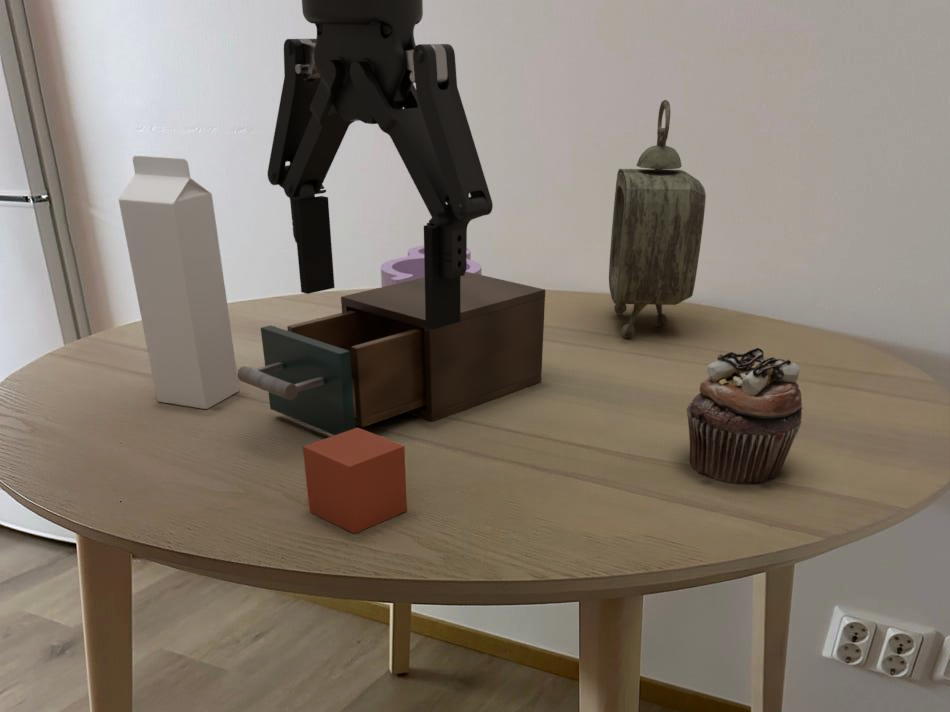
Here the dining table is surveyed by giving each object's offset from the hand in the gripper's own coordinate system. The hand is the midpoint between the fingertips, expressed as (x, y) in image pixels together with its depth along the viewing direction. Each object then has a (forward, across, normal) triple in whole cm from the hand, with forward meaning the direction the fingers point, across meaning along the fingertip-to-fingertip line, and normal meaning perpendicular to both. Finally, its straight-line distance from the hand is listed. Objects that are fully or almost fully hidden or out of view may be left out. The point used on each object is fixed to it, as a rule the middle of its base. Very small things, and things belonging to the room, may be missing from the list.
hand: (377, 307), depth 68 cm
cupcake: (+15, -18, -25) cm, 34 cm away
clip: (+15, +34, -40) cm, 55 cm away
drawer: (+14, +15, -9) cm, 22 cm away
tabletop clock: (+15, +12, -56) cm, 59 cm away
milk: (+15, +31, -2) cm, 35 cm away
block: (+15, -1, +4) cm, 15 cm away
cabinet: (+15, +15, -22) cm, 30 cm away
